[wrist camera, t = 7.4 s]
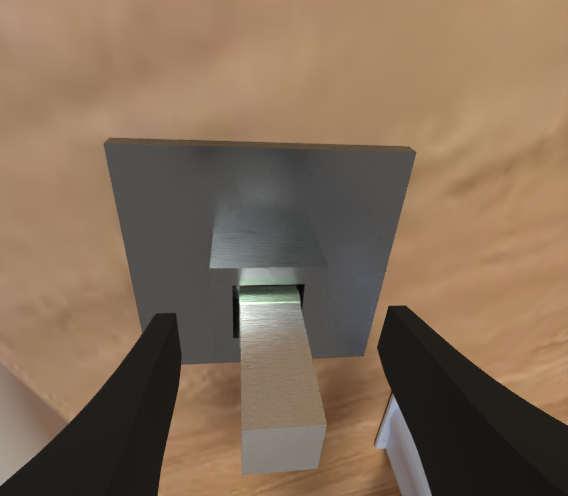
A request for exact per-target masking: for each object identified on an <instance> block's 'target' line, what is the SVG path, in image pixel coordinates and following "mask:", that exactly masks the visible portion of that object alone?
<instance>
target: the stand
mask: <svg viewBox="0 0 568 496" xmlns="http://www.w3.org/2000/svg"><path fill="white" fill-rule="evenodd" d="M104 148H105V153H106V158H107V163H108V167H109V172H110V177H111V182H112V187H113V192H114V197H115V202H116V206H117V211H118V216H119V221H120V226H121V231H122V236H123V241H124V245H125V250H126V255H127V260H128V265H129V270H130V275H131V280H132V284H133V289H134V294H135V299H136V304H137V309H138V314H139V319H140V323H141V328H142V333H143V332H144V330H145V329H146V327H147V326H148V324H149V322H150V321H151V319H152V318H153V316H154V315H155V314H156V313H176V316H177V324H178V331H179V339H180V346H181V354H182V360H181V365H183V364H204V363H225V362H241V350H240V343H239V290H240V286H270V285H296V288H297V289H298V292H299V296H300V300H301V303H300V306H301V310H302V315H303V319H304V324H305V328H306V333H307V337H308V342H309V346H310V351H311V355H312V358H331V357H352V356H364V353H365V349H366V345H367V341H368V337H369V333H370V330H371V326H372V322H373V318H374V314H375V310H376V306H377V302H378V299H379V295H380V291H381V287H382V283H383V279H384V275H385V271H386V268H387V264H388V260H389V256H390V252H391V248H392V244H393V240H394V237H395V233H396V229H397V225H398V221H399V217H400V213H401V210H402V206H403V202H404V198H405V194H406V190H407V186H408V182H409V179H410V175H411V171H412V167H413V163H414V159H415V155H416V152H415V151H414V150H413V149H411V148H410V147H403V146H369V145H335V144H301V143H267V142H232V141H198V140H164V139H130V138H109V139H108V140H107V141H106V142H105V143H104Z"/></svg>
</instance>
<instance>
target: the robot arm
mask: <svg viewBox="0 0 568 496" xmlns="http://www.w3.org/2000/svg"><path fill="white" fill-rule="evenodd" d="M377 349H378V352H379V356H380V360H381V363H382V366H383V370H384V373H385V376H386V378H387V381H388V383H389V385H390V388H391V390H392V392H393V393H392V396H391V399H390V402H389V405H388V407H387V410H386V413H385V416H384V419H383V422H382V425H381V428H380V430H379V433H378V436H377V439H376V442H375V446H376V448H377V449H385V448H386V451H387V454H388V457H389V460H390V463H391V466H392V469H393V472H394V474H395V477H396V480H397V483H398V486H399V489H400V492H401V495H402V496H568V425H566V424H564V423H562V422H561V421H559V420H557V419H555V418H554V417H552V416H550V415H549V414H547V413H545V412H544V411H542V410H540V409H539V408H537V407H535V406H534V405H532V404H530V403H529V402H527V401H526V400H524V399H523V398H521V397H519V396H518V395H516V394H515V393H513V392H512V391H511V390H509V389H508V388H506V387H505V386H503V385H502V384H500V383H499V382H497V381H496V380H495V379H493V378H492V377H490V376H489V375H488V374H486V373H485V372H484V371H482V370H481V369H480V368H479V367H477V366H476V365H475V364H473V363H472V362H471V361H470V360H468V359H467V358H466V357H465V356H463V355H462V354H461V353H460V352H458V351H457V350H456V349H455V348H454V347H452V346H451V345H450V344H449V343H448V342H447V341H445V340H444V339H443V338H442V337H441V336H440V335H439V334H437V333H436V332H435V331H434V330H433V329H432V328H431V327H429V326H428V325H427V324H426V323H425V322H424V321H423V320H422V319H420V318H419V317H418V316H417V315H416V314H415V313H414V312H413V311H411V310H410V309H409V308H408V307H407V306H389V307H388V310H387V314H386V318H385V321H384V325H383V328H382V332H381V335H380V339H379V342H378V346H377ZM181 360H182V354H181V346H180V339H179V331H178V324H177V316H176V313H156V314H155V315H154V316H153V318H152V319H151V321H150V322H149V324H148V326H147V327H146V329H145V330H144V332H143V333H142V335H141V336H140V338H139V339H138V341H137V342H136V344H135V345H134V346H133V348H132V349H131V351H130V352H129V353H128V355H127V356H126V357H125V359H124V360H123V361H122V363H121V364H120V366H119V367H118V368H117V369H116V371H115V372H114V373H113V374H112V376H111V377H110V378H109V379H108V380H107V382H106V383H105V384H104V385H103V387H102V388H101V389H100V390H99V391H98V393H97V394H96V395H95V396H94V397H93V398H92V399H91V401H90V402H89V403H88V404H87V405H86V406H85V407H84V408H83V409H82V410H81V411H80V412H79V414H78V415H77V416H76V417H75V418H74V419H73V420H72V421H71V422H70V423H69V424H68V425H67V426H66V427H65V428H64V429H63V430H62V431H61V432H60V433H59V434H58V435H57V436H56V437H55V438H54V439H53V440H52V441H51V442H50V443H49V444H48V445H46V446H45V447H44V448H43V449H42V450H41V451H40V452H39V453H38V454H37V455H36V456H35V457H33V458H32V459H31V460H30V461H29V462H28V463H27V464H25V465H24V466H23V467H22V468H21V469H20V470H19V471H17V472H16V473H15V474H14V475H13V476H12V477H10V478H9V479H8V480H7V481H6V482H5V483H3V484H2V485H1V486H0V496H157V495H158V487H159V479H160V472H161V466H162V461H163V455H164V451H165V446H166V442H167V437H168V433H169V428H170V424H171V419H172V415H173V410H174V406H175V401H176V397H177V392H178V387H179V379H180V370H181Z"/></svg>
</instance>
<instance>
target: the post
mask: <svg viewBox="0 0 568 496" xmlns="http://www.w3.org/2000/svg"><path fill="white" fill-rule="evenodd" d="M300 303H301V300H300V296H299V292H298V289H297V288H296V285H270V286H240V290H239V343H240V350H241V438H242V475H252V474H263V473H275V472H286V471H298V470H309V469H318V465H319V460H320V456H321V451H322V446H323V441H324V437H325V432H326V427H327V422H326V418H325V413H324V409H323V404H322V400H321V395H320V391H319V386H318V382H317V377H316V373H315V368H314V364H313V360H312V355H311V351H310V346H309V342H308V337H307V333H306V328H305V324H304V319H303V315H302V310H301V306H300Z"/></svg>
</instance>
